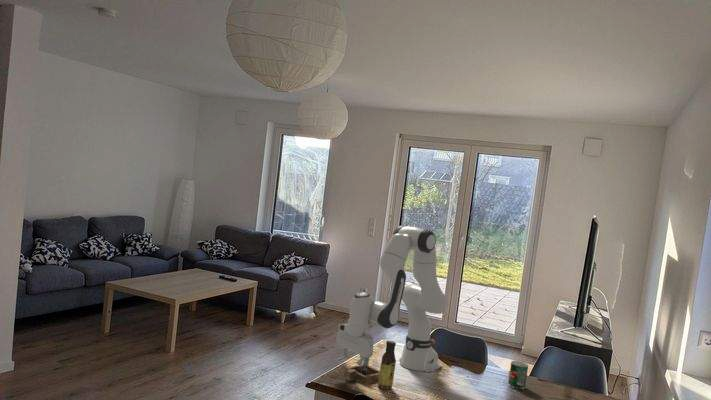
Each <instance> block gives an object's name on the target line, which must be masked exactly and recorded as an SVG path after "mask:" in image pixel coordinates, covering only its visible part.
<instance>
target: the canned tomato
mask: <svg viewBox="0 0 711 400" xmlns="http://www.w3.org/2000/svg"><path fill="white" fill-rule="evenodd" d="M509 369H510V370H509V375H508V381H507V384H508V383H509V384H510V385H511V386H514V387H518V388H523V387H525V388H526V383H527V376H528V370H529V364H527V363H526V362H524V361H523V362H522V361H518V360H513V361H512V360H511V362H510V368H509Z"/></svg>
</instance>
